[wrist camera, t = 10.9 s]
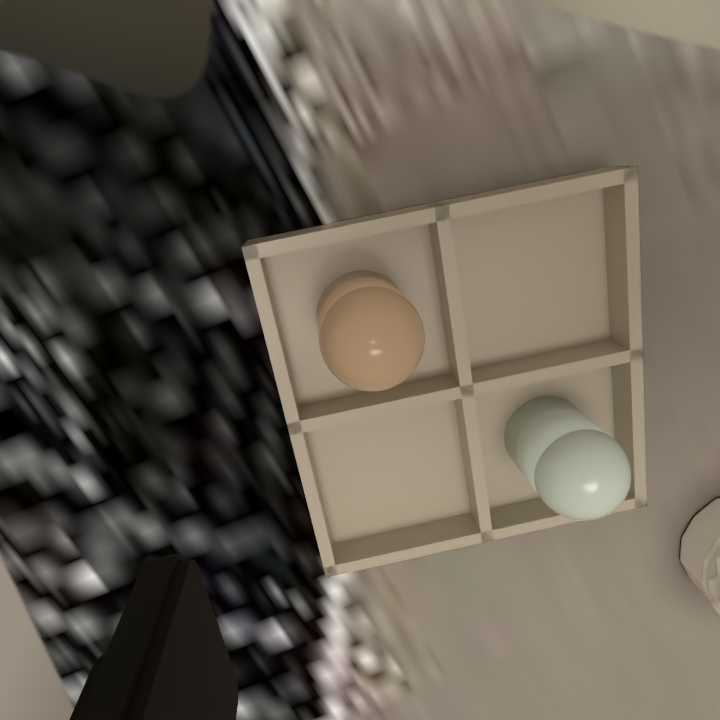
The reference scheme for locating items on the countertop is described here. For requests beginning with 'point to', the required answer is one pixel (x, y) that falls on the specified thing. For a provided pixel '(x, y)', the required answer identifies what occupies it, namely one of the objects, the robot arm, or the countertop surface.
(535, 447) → the green egg
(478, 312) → the egg tray
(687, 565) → the white cup
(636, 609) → the countertop surface
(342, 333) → the brown egg
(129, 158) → the countertop surface
